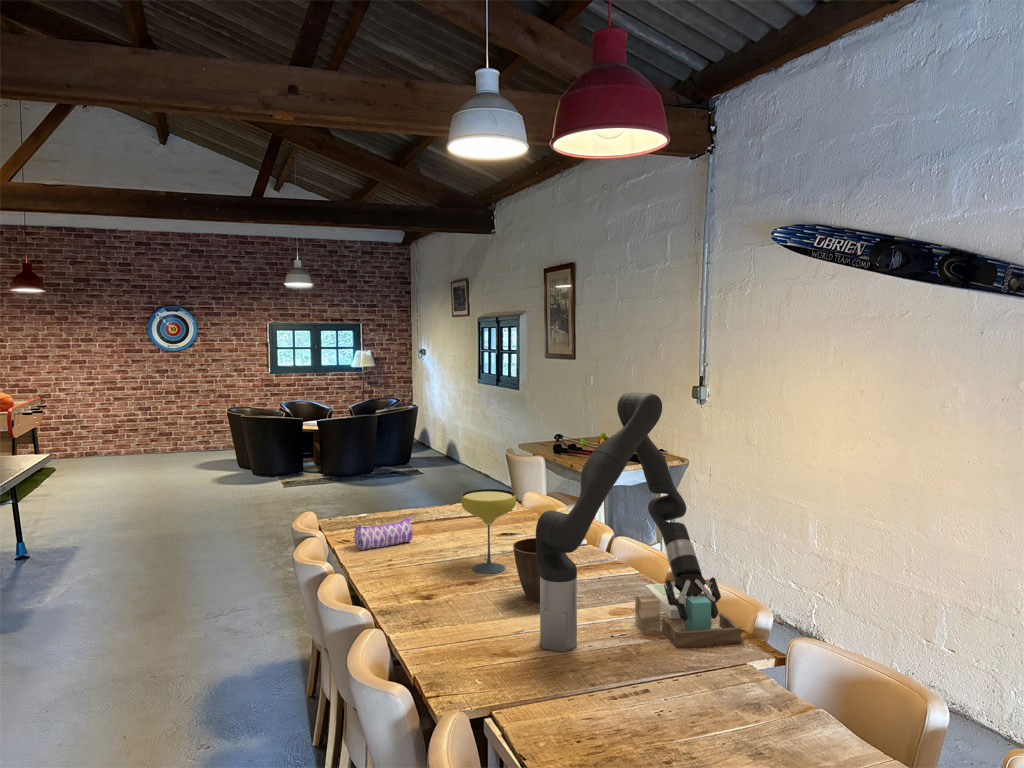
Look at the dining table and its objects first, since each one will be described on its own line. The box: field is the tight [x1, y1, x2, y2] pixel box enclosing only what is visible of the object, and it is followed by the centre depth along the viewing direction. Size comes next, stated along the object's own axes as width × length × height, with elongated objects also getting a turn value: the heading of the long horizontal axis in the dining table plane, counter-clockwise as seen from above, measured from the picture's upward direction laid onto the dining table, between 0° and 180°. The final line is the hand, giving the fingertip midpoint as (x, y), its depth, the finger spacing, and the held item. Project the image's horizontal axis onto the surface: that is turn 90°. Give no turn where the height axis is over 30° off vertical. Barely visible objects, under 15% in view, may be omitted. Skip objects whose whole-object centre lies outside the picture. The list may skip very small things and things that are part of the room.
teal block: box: [684, 596, 712, 631], centre depth 181 cm, size 4×5×9 cm
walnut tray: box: [661, 613, 742, 648], centre depth 179 cm, size 10×17×4 cm, turn 99°
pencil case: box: [353, 516, 414, 551], centre depth 260 cm, size 22×9×9 cm, turn 122°
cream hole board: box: [644, 583, 694, 620], centre depth 201 cm, size 20×12×3 cm, turn 9°
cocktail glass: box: [460, 488, 517, 575], centre depth 232 cm, size 18×18×25 cm
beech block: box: [634, 593, 661, 632], centre depth 185 cm, size 5×5×8 cm
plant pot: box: [512, 537, 540, 604], centre depth 206 cm, size 15×15×16 cm
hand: (700, 618), depth 180 cm, fingers open, 7 cm apart
